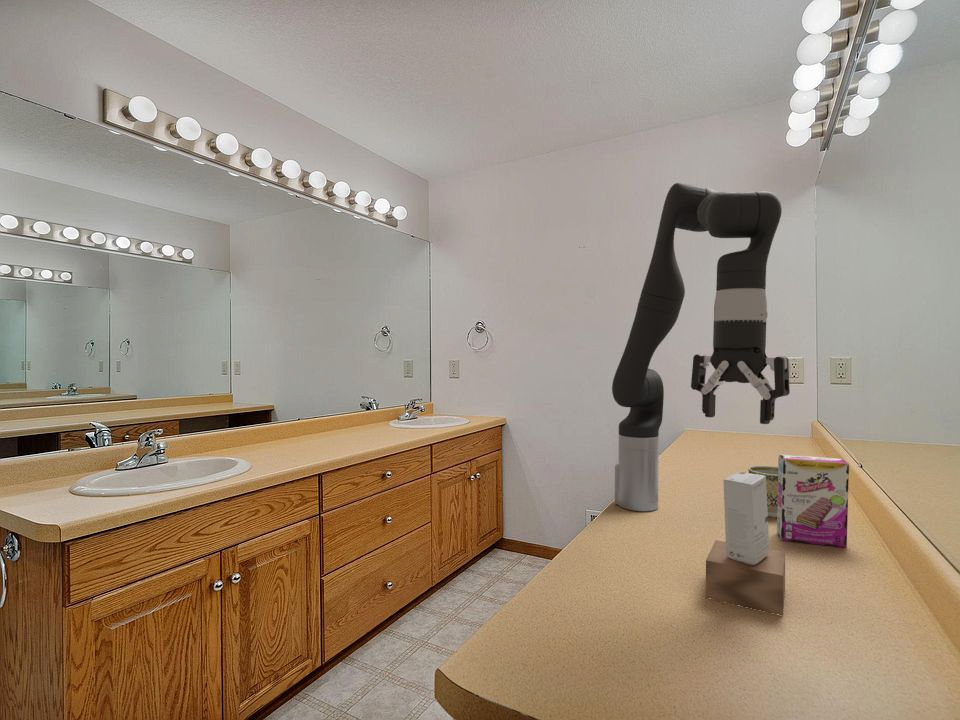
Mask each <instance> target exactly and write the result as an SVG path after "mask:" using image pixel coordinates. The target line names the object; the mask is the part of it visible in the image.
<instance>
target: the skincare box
mask: <svg viewBox="0 0 960 720" xmlns="http://www.w3.org/2000/svg"><path fill="white" fill-rule="evenodd" d="M723 501H724V502H723V503H724V505H723V506H724V526H725V527H724V530H725V532H724V533H725V542H726V556H727V557H728V558H730V559H733V560H736V561H739V562H743V563H746V564H750V565H755V564H757V563H758V562H760V561H761V560H762V559H763V558H765V557H766V556H767V555H768V554H769V550H770V537H769V536H770V535H769V533H770V531H769V517H768V509H767V489H766V476H764V475H758V474H751V473H749V472H745V471H744V472H743V471H738V472H736V473H734V474H731V475H729V476H728V477H727V478H724V479H723Z"/></svg>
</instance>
